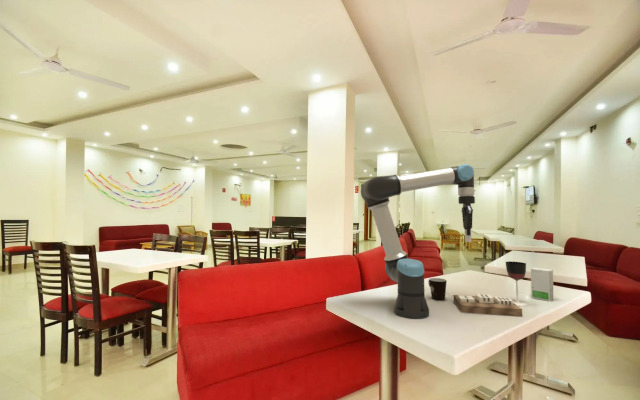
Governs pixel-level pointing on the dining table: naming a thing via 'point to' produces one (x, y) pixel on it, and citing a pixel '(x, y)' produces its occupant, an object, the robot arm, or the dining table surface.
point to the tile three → (503, 300)
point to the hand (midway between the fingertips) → (468, 241)
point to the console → (487, 308)
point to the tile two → (484, 298)
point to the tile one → (466, 299)
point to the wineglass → (516, 275)
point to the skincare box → (542, 284)
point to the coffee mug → (437, 288)
